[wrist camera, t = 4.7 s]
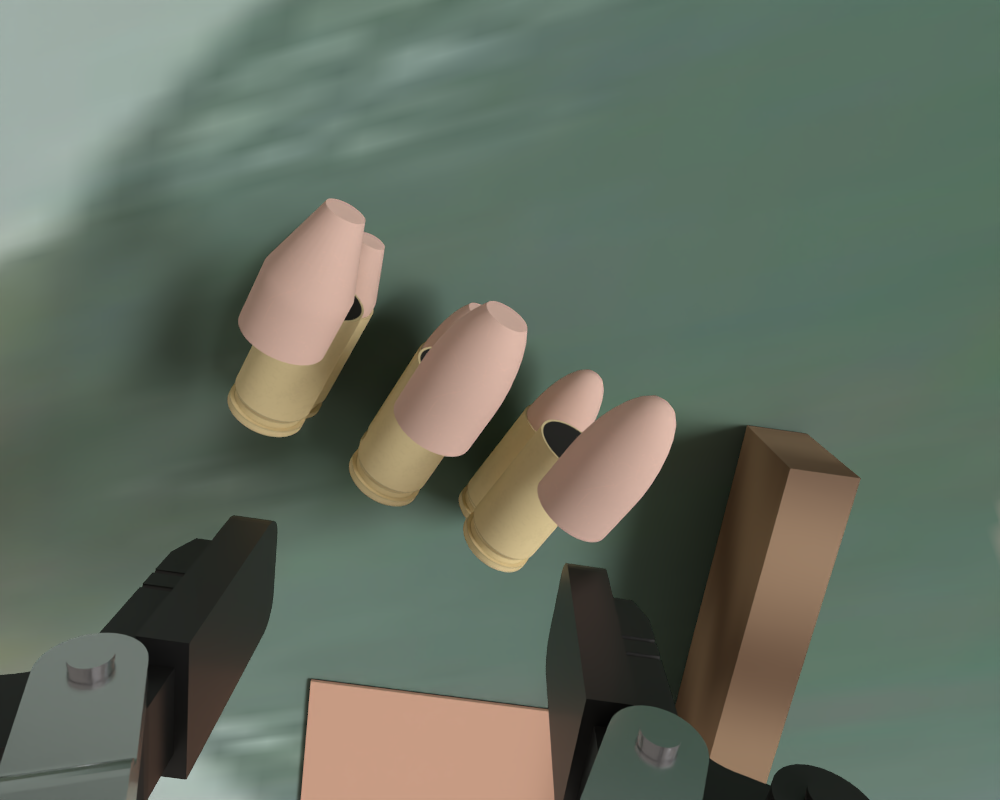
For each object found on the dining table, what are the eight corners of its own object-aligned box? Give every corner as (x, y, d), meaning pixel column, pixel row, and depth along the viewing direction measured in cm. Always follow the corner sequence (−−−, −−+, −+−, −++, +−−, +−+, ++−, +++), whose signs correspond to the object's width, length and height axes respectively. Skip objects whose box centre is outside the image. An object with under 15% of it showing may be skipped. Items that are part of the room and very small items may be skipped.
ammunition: (502, 529, 20) (551, 680, 12) (258, 387, 19) (131, 447, 11) (598, 379, 19) (714, 429, 12) (355, 225, 18) (300, 164, 10)
